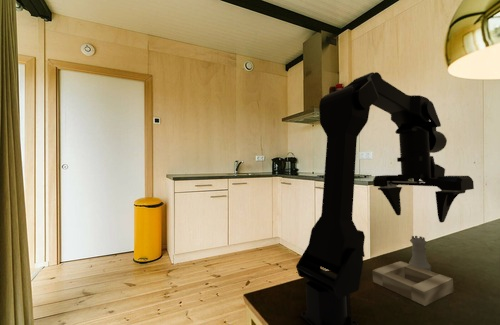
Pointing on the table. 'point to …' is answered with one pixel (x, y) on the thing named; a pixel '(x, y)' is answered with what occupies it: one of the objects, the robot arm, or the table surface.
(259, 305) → the table surface
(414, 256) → the rook chess piece
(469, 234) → the table surface
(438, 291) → the socket collar
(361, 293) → the table surface
